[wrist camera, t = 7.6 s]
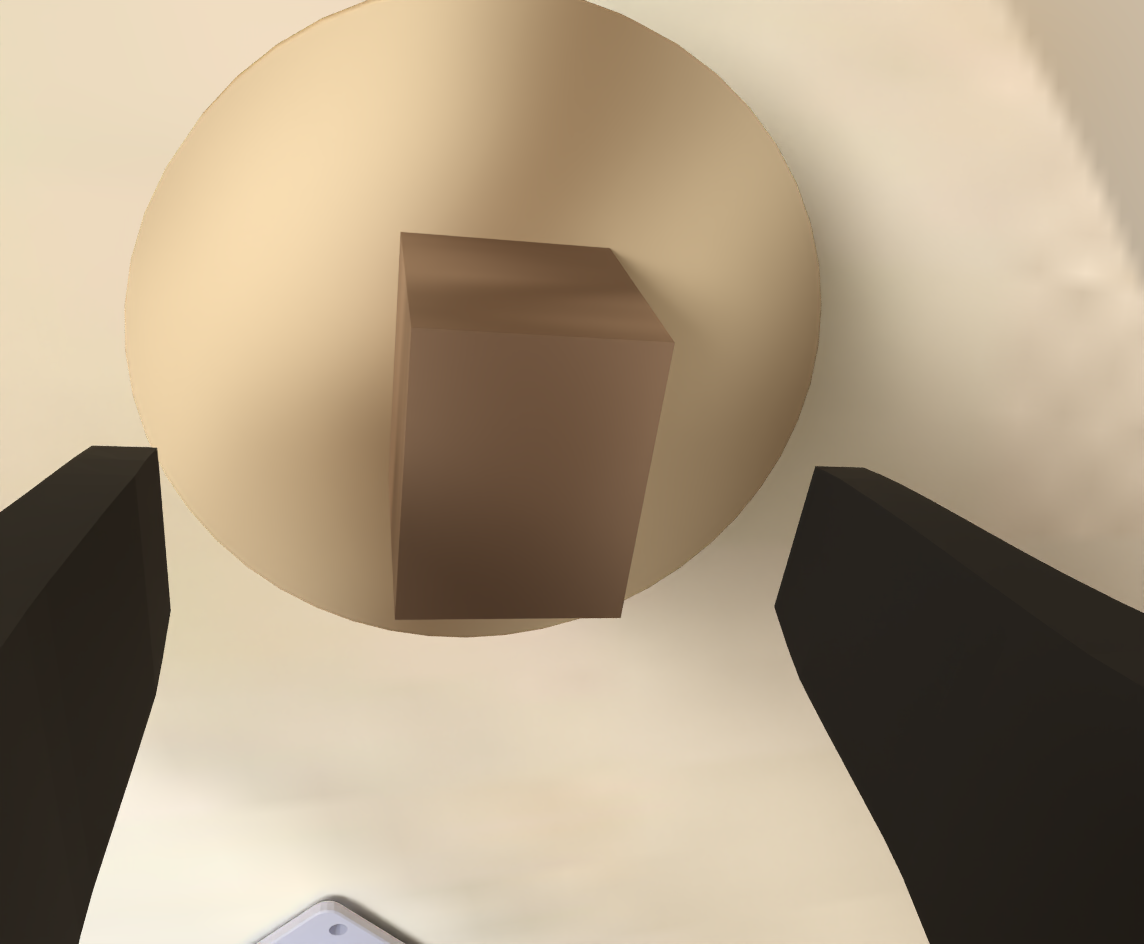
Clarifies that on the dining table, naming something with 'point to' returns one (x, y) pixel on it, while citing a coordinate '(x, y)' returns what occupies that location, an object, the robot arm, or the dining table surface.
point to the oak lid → (472, 313)
